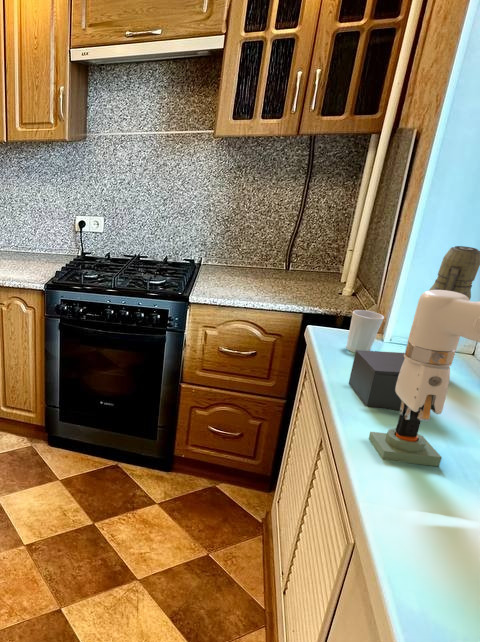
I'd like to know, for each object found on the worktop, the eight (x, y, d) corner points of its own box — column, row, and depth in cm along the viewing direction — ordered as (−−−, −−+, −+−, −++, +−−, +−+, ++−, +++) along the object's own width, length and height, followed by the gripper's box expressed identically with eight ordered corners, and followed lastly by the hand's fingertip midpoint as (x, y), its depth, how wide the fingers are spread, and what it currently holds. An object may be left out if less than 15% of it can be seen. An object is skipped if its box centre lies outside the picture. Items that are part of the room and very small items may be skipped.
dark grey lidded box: (402, 389, 138) (411, 356, 135) (426, 414, 126) (436, 378, 123) (348, 385, 141) (355, 353, 138) (366, 408, 129) (374, 374, 126)
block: (421, 445, 113) (425, 429, 112) (439, 466, 106) (444, 449, 105) (368, 440, 116) (372, 424, 114) (382, 460, 109) (386, 443, 107)
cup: (378, 356, 159) (390, 319, 155) (352, 355, 159) (363, 318, 155) (362, 345, 167) (373, 310, 162) (336, 345, 167) (347, 309, 162)
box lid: (414, 356, 135) (419, 338, 133) (440, 378, 122) (446, 358, 121) (355, 352, 138) (358, 335, 136) (374, 373, 126) (378, 354, 124)
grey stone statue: (443, 368, 150) (489, 247, 136) (439, 382, 141) (488, 254, 128) (405, 359, 155) (446, 241, 142) (399, 372, 147) (442, 248, 133)
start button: (411, 438, 111) (413, 431, 110) (418, 447, 108) (421, 440, 107) (391, 436, 112) (393, 429, 111) (398, 445, 109) (400, 438, 108)
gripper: (472, 370, 95) (444, 456, 102) (433, 341, 109) (410, 419, 115) (424, 366, 97) (399, 451, 104) (391, 338, 111) (371, 415, 117)
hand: (405, 434), depth 109 cm, fingers closed
